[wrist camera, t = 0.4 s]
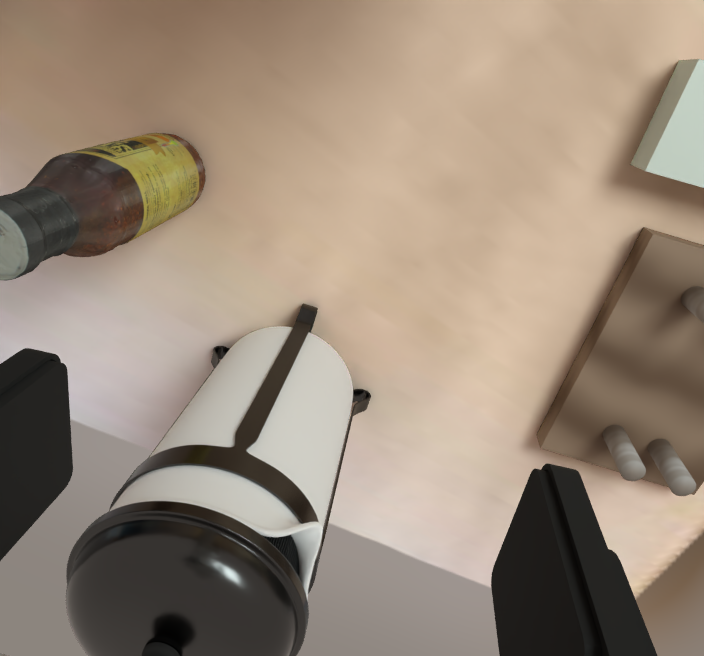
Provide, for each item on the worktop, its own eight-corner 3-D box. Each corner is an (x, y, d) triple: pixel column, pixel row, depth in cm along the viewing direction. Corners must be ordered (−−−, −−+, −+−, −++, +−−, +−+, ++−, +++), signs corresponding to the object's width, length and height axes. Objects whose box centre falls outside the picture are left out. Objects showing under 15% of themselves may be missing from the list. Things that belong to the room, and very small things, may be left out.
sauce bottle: (180, 116, 43) (-1, 145, 25) (223, 190, 45) (84, 266, 27) (116, 155, 45) (-95, 208, 27) (160, 224, 47) (-10, 317, 29)
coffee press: (225, 268, 47) (-49, 524, 20) (398, 336, 48) (355, 673, 21) (183, 422, 55) (-59, 760, 28) (333, 479, 55) (239, 865, 28)
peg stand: (643, 227, 42) (681, 254, 35) (822, 280, 42) (893, 317, 35) (536, 434, 50) (551, 486, 44) (684, 479, 50) (721, 537, 44)
